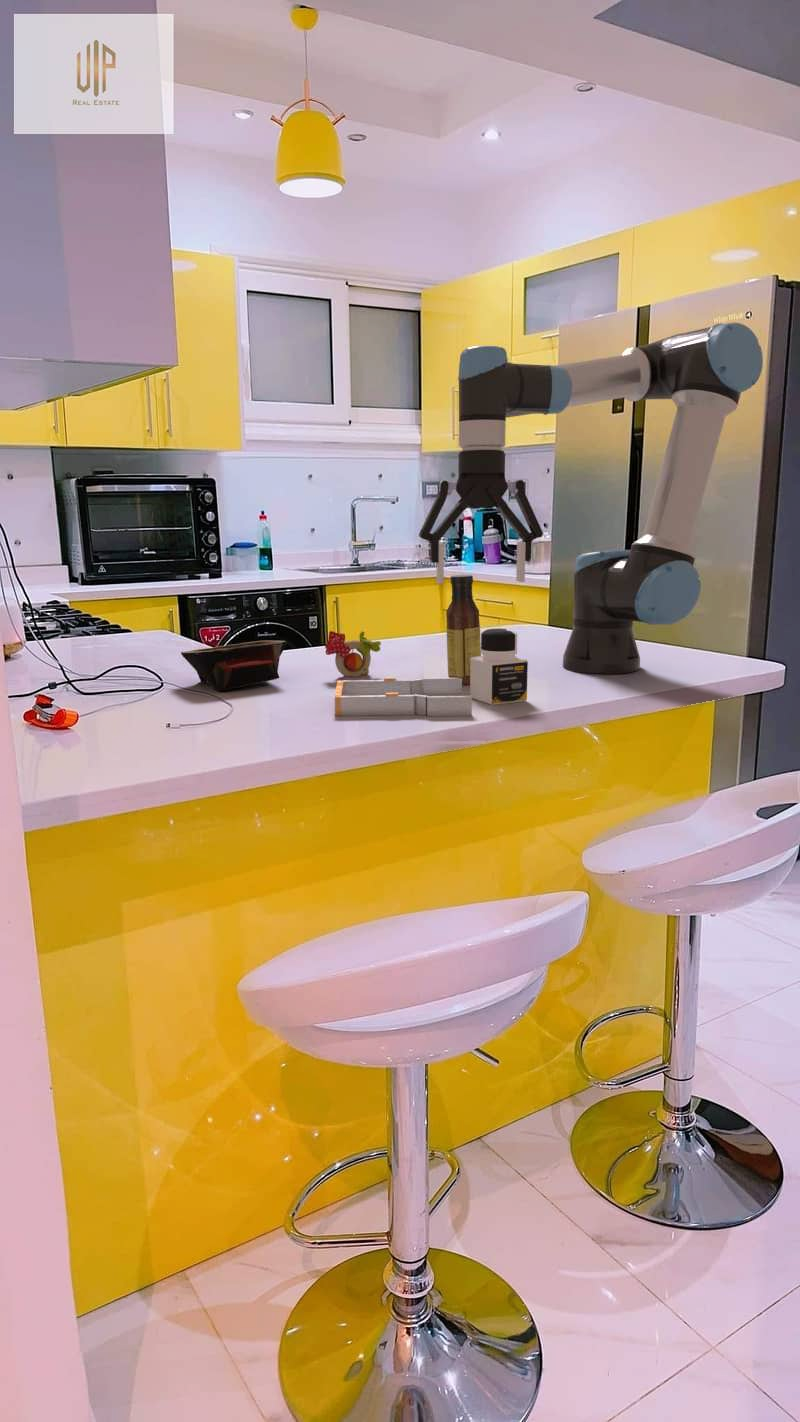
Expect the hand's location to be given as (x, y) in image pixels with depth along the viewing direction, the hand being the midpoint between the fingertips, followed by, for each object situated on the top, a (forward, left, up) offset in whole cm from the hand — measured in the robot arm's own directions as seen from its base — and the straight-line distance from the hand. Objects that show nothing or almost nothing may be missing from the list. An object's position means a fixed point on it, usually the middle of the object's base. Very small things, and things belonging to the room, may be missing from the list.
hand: (480, 582), depth 153 cm
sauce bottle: (+1, -14, -20) cm, 25 cm away
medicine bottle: (-3, +1, -20) cm, 20 cm away
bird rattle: (+22, -21, -20) cm, 36 cm away
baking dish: (+42, -15, -21) cm, 49 cm away
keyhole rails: (+13, +5, -20) cm, 24 cm away
